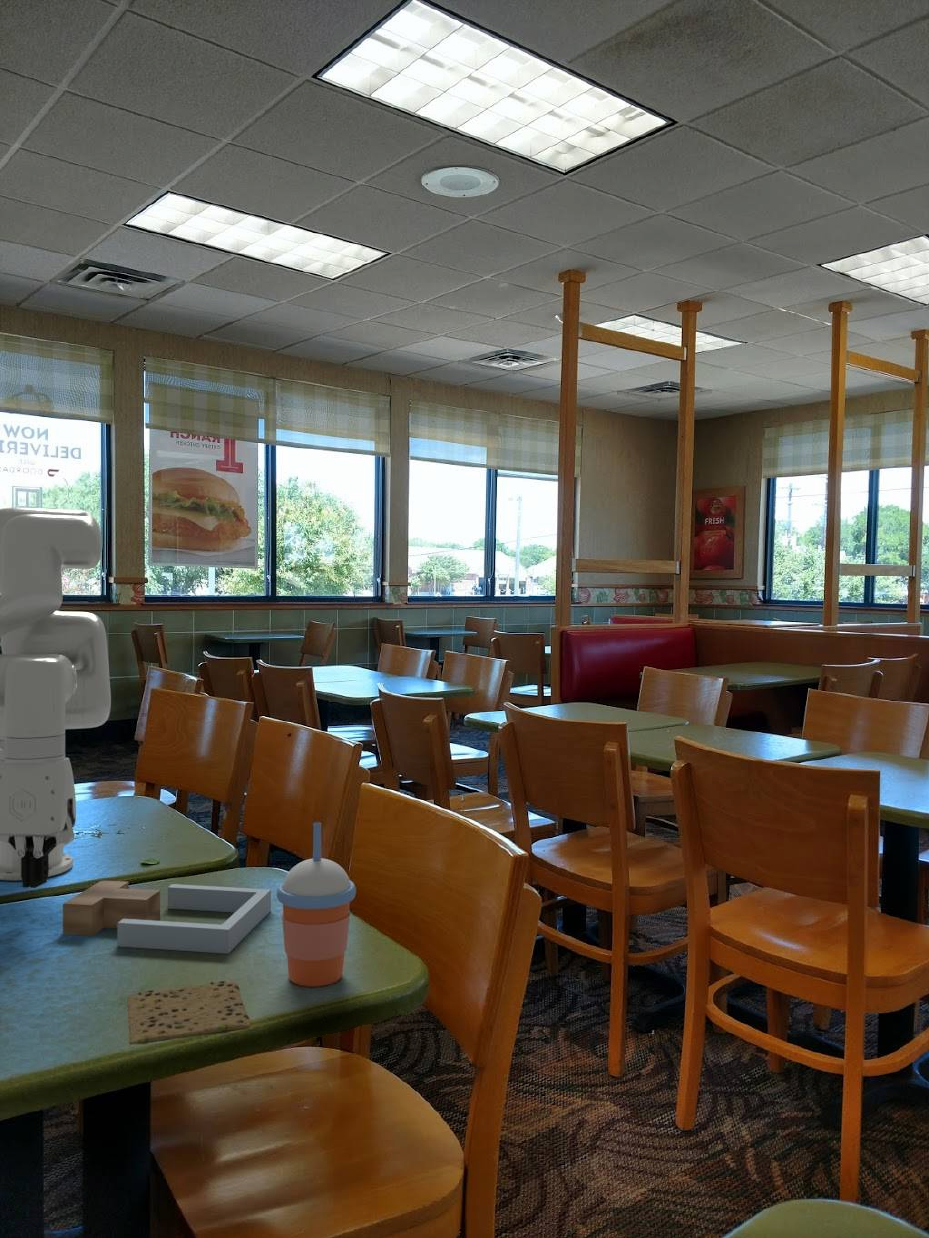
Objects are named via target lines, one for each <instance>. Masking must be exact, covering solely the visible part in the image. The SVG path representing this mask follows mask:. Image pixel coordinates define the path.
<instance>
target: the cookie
mask: <svg viewBox="0 0 929 1238" xmlns="http://www.w3.org/2000/svg"><path fill="white" fill-rule="evenodd" d="M241 996H242V995H241V992H240V986H239V985H238V983H237V982H236V981H225V980H222V981H218V982H214V981H211V982H210V983H205V984H197V985H195V986H193V985H192V986H187V987H181V988H177V989H176V988H174V989H171V988H170V989H160V990H153V989H151V990H147V991H146V992H138V993H137V994H132V995H128V996H127V1012H128V1014H127V1016H128V1017H127V1018H128V1030H129V1031H128V1032H129V1033H128V1039H129V1042H128V1044H129V1045H137V1044H145V1043H149V1042H151V1043H152V1042H158V1041H165V1040H172V1039H177V1038H185V1037H191V1036H192V1035H193V1036H199V1035H200V1036H201V1035H207V1034H212V1033H219V1032H221V1033H222V1032H226V1031H227V1032H228V1031H235V1030H243V1029H247V1028H250V1027H251V1023H250V1020H249V1019H250V1016H248V1012H247V1011H246V1008H245V1004H244V1001H243V999H242V997H241ZM190 1035H191V1036H190Z"/></svg>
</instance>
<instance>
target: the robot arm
mask: <svg viewBox="0 0 929 1238" xmlns="http://www.w3.org/2000/svg"><path fill="white" fill-rule="evenodd" d="M102 541H103V539H102V532H101V529H100V526H99V523H98V522H97V520H96V518H95V517H94V516H93V514H92V513H91V512H89V511H86V510H77V509H58V508H56V509H55V508H42V507H41V508H38V507H6V508H0V647H1V653H0V881H16V882H17V881H22V887H23V888H24V889H25V888H26V889H27V888H31V889H36V888H38V887H40V886H42V885H44V884H46V883H47V882H48V878H49V877H50V878H51V877H53V876H56V875H61V874H63V873H65V872H67V871H69V870H70V869H72V867H73V866H74V859H73V857H72V856H71V855H70V854H67V853H64V848H65V846H66V845H69V844H71V843H72V842H73V841H74V840H75V837H76V836H75V833H74V827H75V825H76V821H77V820H76V819H77V799H76V798H77V797H76V787H75V780H74V772H73V768H72V764H71V761H70V760H71V759H70V758H69V757H66V730H76V729H77V730H78V729H92V728H98V727H99V726H100V727H101V726H103V725H104V724H105V723H106V722H107V720H108V719H109V717H110V713H111V708H112V707H111V706H112V694H111V692H112V691H111V681H110V680H111V679H110V665H109V651H108V650H109V648H108V638H107V631H106V628H105V623H104V622H103V621H102V619H101V617H99V616H98V615H96V614H95V613H92V612H87V611H61V610H59V609H60V607H61V606H62V603H63V599H64V598H63V597H64V595H63V581H62V580H63V578H62V577H63V576H62V569H72V570H74V569H75V570H76V569H77V570H90V569H94V568H96V567H97V565H99V563H100V560H101V557H102V550H103V542H102Z"/></svg>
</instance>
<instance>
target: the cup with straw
mask: <svg viewBox="0 0 929 1238" xmlns="http://www.w3.org/2000/svg"><path fill="white" fill-rule="evenodd" d="M312 836H313V837H312V838H313V841H312V842H313V843H312V844H313V845H312V849H313V851H312V858H309V859H305V860H303V861H301V862H299V863H297V864H296V865H294V866H293V867H292V868H291V869H290V870H289V872H288V873H287V874H286V875H285V878H284V881H282V882H281V883H280V884H279V885H278V887H277V889H276V898H277V900H278V901H279V903H280V904H282V911H283V912H282V914H281V918H282V932H283V942H284V943H283V944H284V952H285V954H286V958H287V959H286V960H287V961H286V962H287V969H288V970H287V971H288V979H289V980H290V981H291V982H292V983H293V984H295V985H298V986H302V987H307V988H311V987H312V988H314V987H315V988H318V987H324V986H329V985H332V984H334V983H336V982H338V981H339V980H340V979H341V978H342V976H343V971H344V963H345V962H344V961H345V952H346V951H347V949H348V948H347V947H348V937H349V929H350V928H349V927H350V921H351V920H350V918H351V910H350V905H351V904H350V903H351V902H352V901H353V900H354V898H355V897H356V894H357V890H356V889H357V888H356V886H355V883H354V882H353V881H352V880H351V879H350V878H349V876H348V874H347V872H346V870H345V869H344V868H343V867H342V866H341V865H340V864H338V863H337V862H335V861H333V860H331V859H326V858H322V854H321V853H322V823H321V822H313V835H312Z"/></svg>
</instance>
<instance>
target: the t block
mask: <svg viewBox="0 0 929 1238" xmlns="http://www.w3.org/2000/svg"><path fill="white" fill-rule="evenodd" d="M122 919H137V920H153V921H161V890H160V889H141V888H140V889H137V888H130V885H129V881H123V880H122V881H121V880H120V881H119V880H117V881H116V880H101V881H98V882H96V883H95V884H94V885H91V886H90V887H88V888H86V890H83V891H81V892H80V893H78V894H76V895H75V896H73V897H72V898H70V899H68V900H67V901H65V902H64V903H62V934H63V935H74V936H91V937H92V936H94V935H96V934H97V933H98V932H100V931H101V930H102V929H118V922H119V921H121V920H122Z"/></svg>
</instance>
